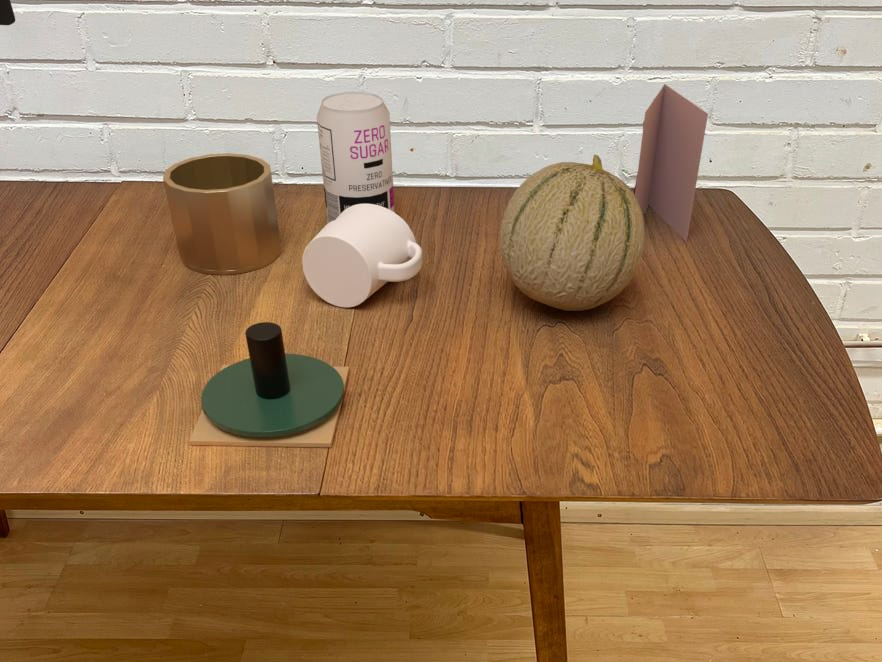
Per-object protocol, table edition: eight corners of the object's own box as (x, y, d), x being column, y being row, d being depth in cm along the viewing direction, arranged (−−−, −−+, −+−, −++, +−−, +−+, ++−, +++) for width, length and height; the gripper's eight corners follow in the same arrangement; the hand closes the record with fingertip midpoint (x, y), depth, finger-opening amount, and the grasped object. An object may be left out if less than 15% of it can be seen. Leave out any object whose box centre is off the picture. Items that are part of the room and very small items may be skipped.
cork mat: (189, 445, 75) (188, 440, 75) (223, 368, 84) (222, 364, 84) (331, 447, 75) (331, 443, 75) (349, 370, 84) (349, 366, 84)
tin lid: (277, 461, 73) (264, 387, 68) (173, 411, 78) (155, 340, 73) (373, 391, 81) (367, 321, 76) (273, 350, 86) (262, 282, 81)
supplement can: (351, 209, 113) (341, 86, 104) (407, 222, 111) (402, 96, 101) (315, 233, 108) (300, 105, 98) (373, 247, 105) (364, 116, 96)
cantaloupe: (474, 316, 93) (476, 174, 83) (529, 260, 103) (536, 128, 93) (609, 350, 88) (627, 203, 78) (653, 287, 98) (674, 151, 88)
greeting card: (641, 204, 116) (657, 83, 106) (698, 212, 114) (720, 90, 104) (622, 239, 108) (637, 111, 98) (683, 249, 106) (705, 119, 96)
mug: (299, 299, 95) (290, 228, 90) (339, 263, 102) (333, 195, 97) (402, 319, 92) (398, 247, 87) (436, 280, 99) (435, 211, 94)
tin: (230, 284, 98) (215, 200, 91) (160, 257, 102) (141, 176, 96) (301, 247, 105) (291, 167, 99) (232, 224, 110) (219, 146, 104)
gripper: (-47, -290, 63) (28, -17, 74) (-210, -300, 49) (-88, 35, 60) (57, -289, 62) (117, -15, 73) (-79, -299, 49) (20, 38, 60)
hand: (24, 8), depth 67 cm, fingers open, 9 cm apart
